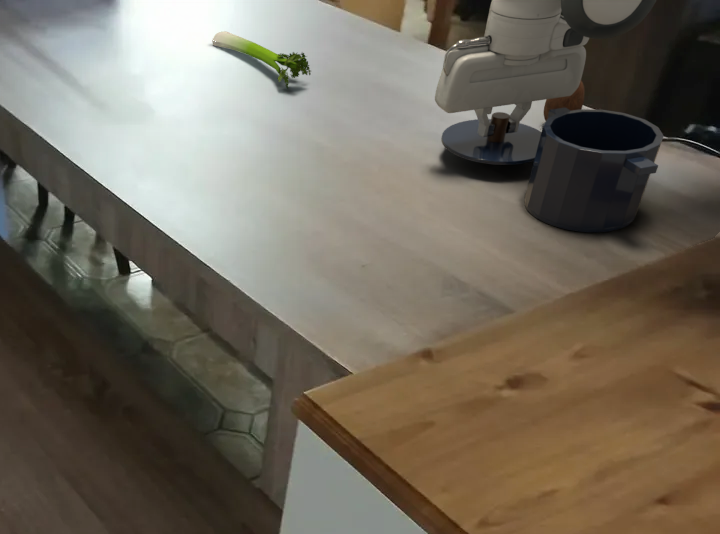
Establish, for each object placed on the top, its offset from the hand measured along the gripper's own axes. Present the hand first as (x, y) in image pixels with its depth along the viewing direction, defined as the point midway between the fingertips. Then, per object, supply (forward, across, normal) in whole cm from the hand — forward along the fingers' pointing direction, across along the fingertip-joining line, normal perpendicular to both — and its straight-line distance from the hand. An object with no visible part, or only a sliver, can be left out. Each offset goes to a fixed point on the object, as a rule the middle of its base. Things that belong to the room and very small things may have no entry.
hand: (497, 133), depth 132 cm
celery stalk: (+4, -19, +48) cm, 52 cm away
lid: (+1, 0, 0) cm, 1 cm away
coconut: (+4, +15, +7) cm, 17 cm away
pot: (+4, +3, -17) cm, 18 cm away
